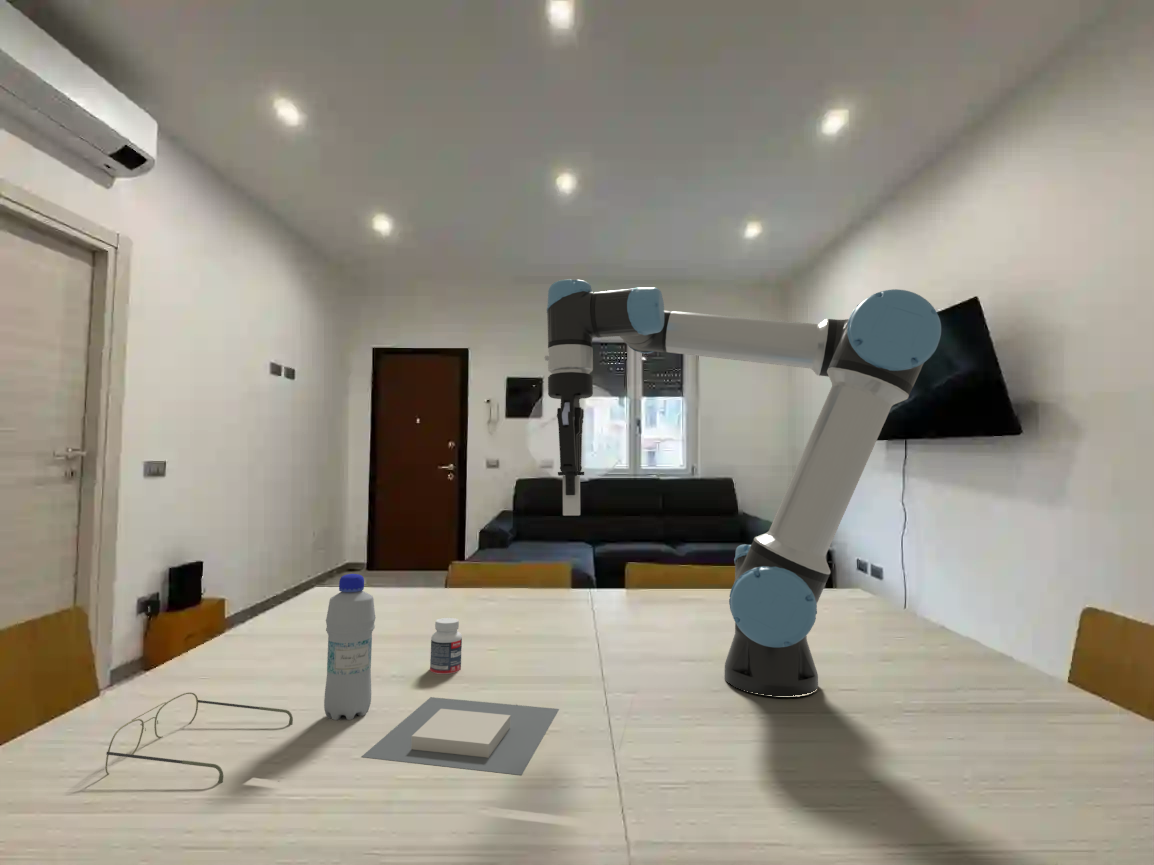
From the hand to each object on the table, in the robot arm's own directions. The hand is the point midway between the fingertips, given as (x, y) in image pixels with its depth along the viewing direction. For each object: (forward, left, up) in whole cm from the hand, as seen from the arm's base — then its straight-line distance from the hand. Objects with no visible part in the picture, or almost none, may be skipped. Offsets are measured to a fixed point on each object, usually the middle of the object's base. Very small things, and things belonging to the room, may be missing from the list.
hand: (571, 515), depth 103 cm
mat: (+9, +21, -28) cm, 36 cm away
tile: (+9, +19, -27) cm, 34 cm away
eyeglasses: (+40, +32, -29) cm, 59 cm away
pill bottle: (+22, -2, -28) cm, 36 cm away
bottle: (+28, +19, -28) cm, 44 cm away
